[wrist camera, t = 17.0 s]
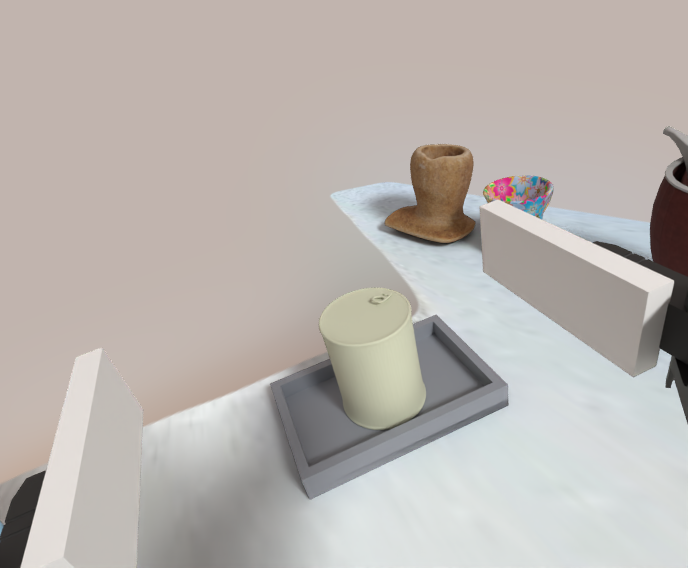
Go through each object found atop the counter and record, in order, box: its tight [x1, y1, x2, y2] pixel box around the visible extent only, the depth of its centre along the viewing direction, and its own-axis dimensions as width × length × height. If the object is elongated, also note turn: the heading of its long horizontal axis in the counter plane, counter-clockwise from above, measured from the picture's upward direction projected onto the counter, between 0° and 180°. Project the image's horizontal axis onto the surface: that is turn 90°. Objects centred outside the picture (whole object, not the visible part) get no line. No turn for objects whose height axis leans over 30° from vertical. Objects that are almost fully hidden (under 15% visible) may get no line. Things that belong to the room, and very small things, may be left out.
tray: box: [270, 315, 508, 499], centre depth 49 cm, size 22×14×3 cm, turn 111°
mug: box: [483, 176, 553, 219], centre depth 67 cm, size 12×9×11 cm
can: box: [319, 288, 426, 430], centre depth 47 cm, size 9×9×12 cm
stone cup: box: [385, 144, 475, 243], centre depth 78 cm, size 15×12×15 cm
